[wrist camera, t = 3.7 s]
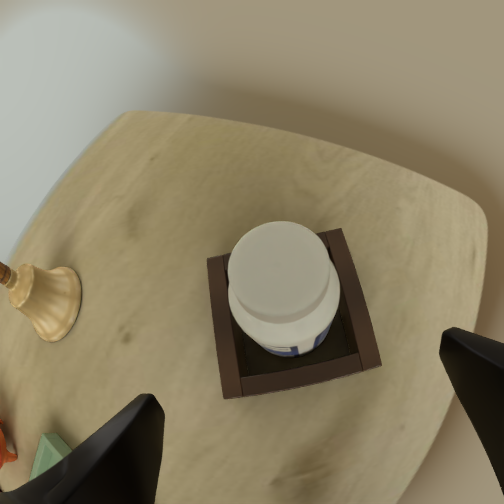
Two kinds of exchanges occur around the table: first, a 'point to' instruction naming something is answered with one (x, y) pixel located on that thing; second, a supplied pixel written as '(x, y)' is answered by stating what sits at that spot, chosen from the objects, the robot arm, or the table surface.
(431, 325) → the table surface
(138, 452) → the robot arm
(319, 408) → the table surface
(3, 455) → the pot
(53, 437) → the tray
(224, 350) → the bottle holder
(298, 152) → the table surface
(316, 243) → the pill bottle
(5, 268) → the hand bell
